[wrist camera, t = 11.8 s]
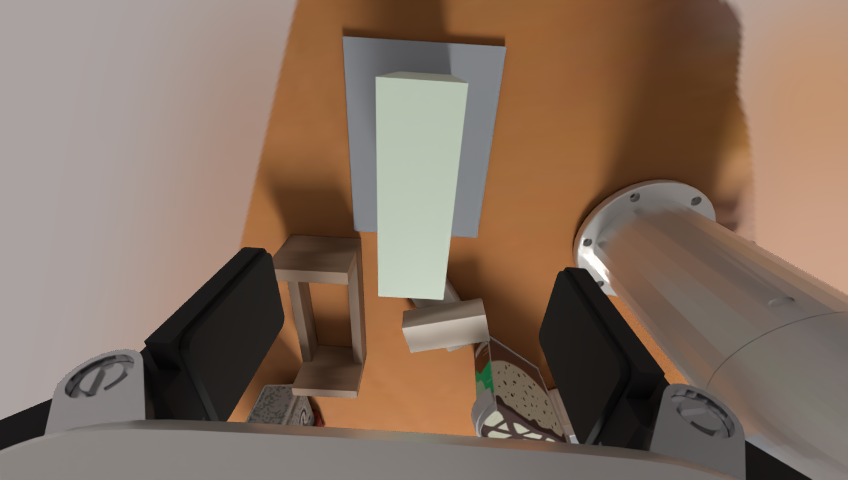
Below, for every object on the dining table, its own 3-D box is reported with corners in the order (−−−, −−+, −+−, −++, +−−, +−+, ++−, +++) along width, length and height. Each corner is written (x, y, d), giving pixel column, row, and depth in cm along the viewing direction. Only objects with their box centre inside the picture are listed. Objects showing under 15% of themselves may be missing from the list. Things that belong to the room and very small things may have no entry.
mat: (505, 47, 24) (506, 46, 23) (476, 235, 31) (476, 237, 31) (344, 36, 23) (342, 36, 23) (355, 228, 31) (354, 230, 31)
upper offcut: (403, 311, 34) (401, 328, 32) (481, 297, 33) (485, 314, 31) (411, 334, 35) (410, 352, 33) (486, 322, 34) (490, 340, 32)
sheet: (451, 74, 24) (468, 83, 14) (438, 217, 30) (443, 299, 19) (398, 71, 24) (375, 76, 14) (396, 214, 30) (378, 296, 19)
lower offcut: (439, 262, 34) (440, 276, 32) (477, 324, 38) (480, 340, 36) (407, 277, 35) (405, 291, 33) (447, 335, 39) (448, 351, 37)
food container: (443, 354, 40) (447, 436, 31) (477, 327, 37) (492, 407, 29) (510, 395, 44) (531, 478, 35) (545, 372, 41) (577, 455, 32)
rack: (360, 238, 32) (347, 273, 27) (366, 354, 40) (357, 398, 35) (291, 234, 32) (263, 268, 26) (311, 351, 40) (293, 395, 35)
